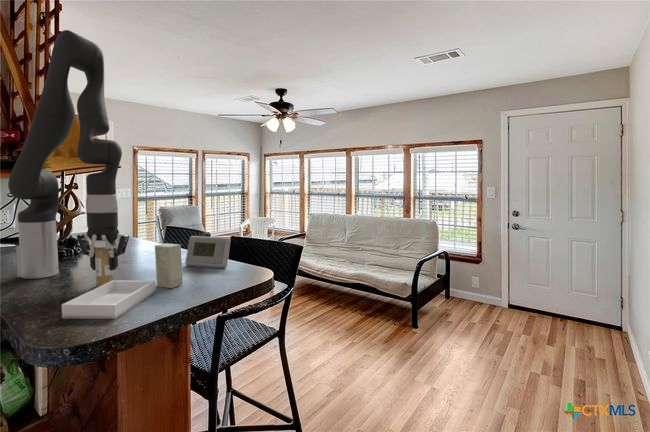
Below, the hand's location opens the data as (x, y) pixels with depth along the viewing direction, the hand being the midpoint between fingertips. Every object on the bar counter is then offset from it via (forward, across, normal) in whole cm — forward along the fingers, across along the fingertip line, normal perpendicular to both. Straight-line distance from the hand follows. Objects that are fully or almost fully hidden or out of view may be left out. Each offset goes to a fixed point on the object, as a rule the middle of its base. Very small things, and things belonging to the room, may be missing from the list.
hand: (104, 269), depth 103 cm
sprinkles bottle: (+5, 0, 0) cm, 5 cm away
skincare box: (+5, +18, +1) cm, 19 cm away
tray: (+5, +11, -15) cm, 19 cm away
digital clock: (+5, +22, +26) cm, 34 cm away
